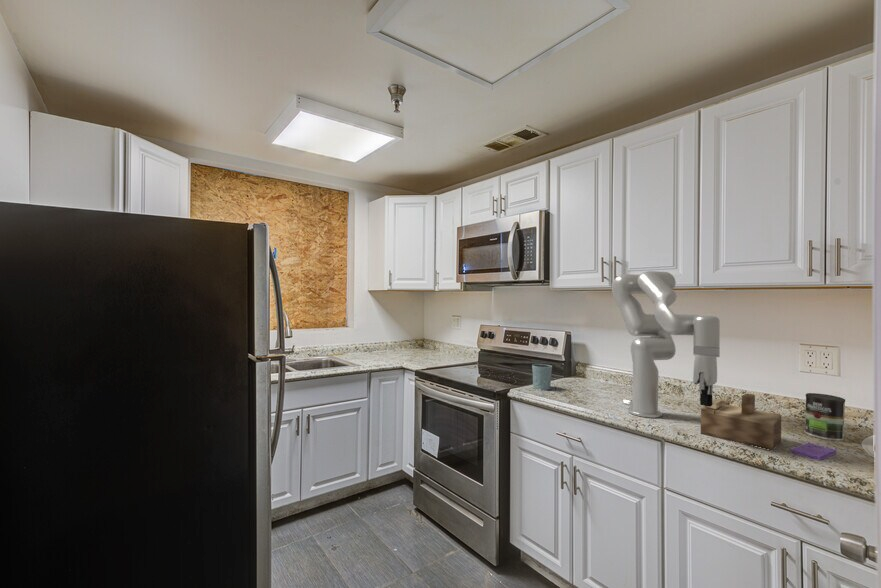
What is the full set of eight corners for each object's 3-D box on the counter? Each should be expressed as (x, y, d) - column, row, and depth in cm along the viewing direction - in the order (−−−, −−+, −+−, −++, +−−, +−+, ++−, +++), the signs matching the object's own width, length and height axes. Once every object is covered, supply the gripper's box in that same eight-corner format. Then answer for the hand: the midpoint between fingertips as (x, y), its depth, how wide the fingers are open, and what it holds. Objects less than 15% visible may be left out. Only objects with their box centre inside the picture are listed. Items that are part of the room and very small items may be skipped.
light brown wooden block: (704, 406, 144) (704, 401, 144) (711, 403, 149) (711, 397, 149) (716, 409, 141) (716, 403, 141) (722, 405, 147) (722, 399, 147)
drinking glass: (530, 389, 206) (531, 366, 206) (532, 385, 216) (532, 363, 216) (551, 391, 203) (551, 367, 203) (552, 387, 213) (552, 364, 213)
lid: (704, 411, 142) (704, 392, 142) (715, 405, 152) (716, 386, 152) (773, 425, 128) (773, 403, 128) (781, 417, 137) (781, 397, 137)
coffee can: (835, 442, 137) (836, 401, 137) (798, 433, 146) (799, 394, 147) (850, 439, 141) (851, 398, 141) (813, 429, 151) (814, 392, 151)
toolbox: (700, 433, 143) (701, 408, 143) (716, 423, 156) (717, 399, 156) (772, 450, 128) (773, 422, 128) (783, 437, 141) (784, 411, 141)
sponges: (836, 455, 127) (836, 449, 127) (819, 462, 121) (819, 456, 121) (808, 447, 133) (808, 441, 133) (790, 454, 127) (790, 448, 127)
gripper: (700, 349, 146) (700, 400, 146) (686, 352, 137) (686, 406, 136) (725, 351, 141) (725, 404, 140) (712, 354, 131) (712, 411, 131)
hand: (706, 405), depth 138 cm, fingers closed
